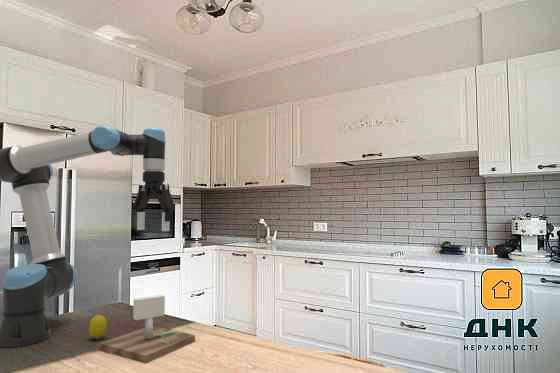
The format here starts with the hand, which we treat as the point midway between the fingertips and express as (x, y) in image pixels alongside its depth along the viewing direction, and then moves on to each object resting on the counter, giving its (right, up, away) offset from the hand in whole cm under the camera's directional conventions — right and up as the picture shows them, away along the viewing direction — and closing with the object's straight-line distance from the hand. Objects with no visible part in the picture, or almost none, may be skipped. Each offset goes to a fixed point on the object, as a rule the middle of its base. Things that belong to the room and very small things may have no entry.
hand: (152, 230), depth 139 cm
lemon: (-14, -34, -12) cm, 39 cm away
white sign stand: (+6, -32, -17) cm, 36 cm away
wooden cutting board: (+5, -34, -18) cm, 39 cm away
